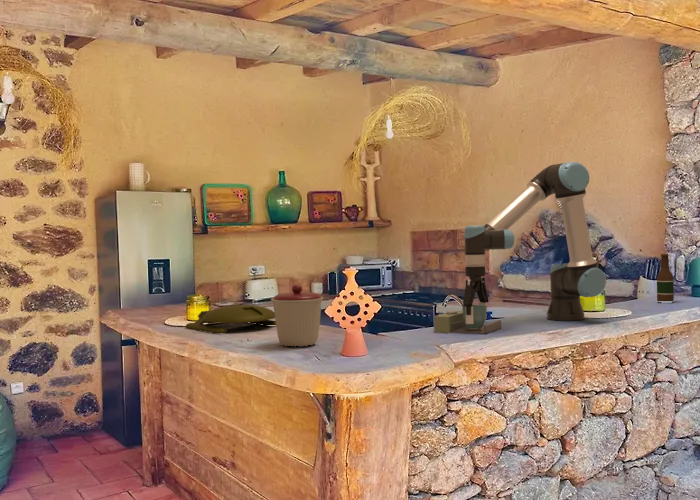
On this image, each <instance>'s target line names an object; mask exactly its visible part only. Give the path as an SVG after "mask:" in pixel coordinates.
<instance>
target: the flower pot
mask: <svg viewBox="0 0 700 500" xmlns="http://www.w3.org/2000/svg"><path fill="white" fill-rule="evenodd" d="M461 305H462V306H461V307H462V308H461V309H462V311H463V319H464V322H465V325H466V327H467V328H478V329H480V328H482V326H484V325H485V324H484V323H485V321H486V320H485V318H486V319H487V310H488V309H487V308H488V305H487V304H486V305H479V304H472V306H473V321H474V324H466V306H463V304H461Z"/></svg>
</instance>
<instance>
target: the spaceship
mask: <svg viewBox="0 0 700 500" xmlns="http://www.w3.org/2000/svg"><path fill="white" fill-rule="evenodd" d="M197 318H198V319H197V320H195V322H189V323H186V325H185V328H186V329H188V328H189V330H194V329H195V331H199V330H201V331H200V332H204V331H206V332H205V333H210V332H212V333H211V334H215V333H225V334H227V333H228V331H229V330H228V329H227V328H225V327H219V326H214V325H212V324H228V323H229V324H238V323H239V324H240V323H241V324H242V323H244V322H250V323H256V324H255V325H257V324H263V325H276V320H274V319H275V313H274V311H273V310H272V309H270V308H267V307H264V306H259V305H253V304H251V305H250V304H238V305H237V304H234V305H233V304H232V305H226V306H221V307H216V308H215V309H212V310H204V311H202V310H201V312H200V313H199V314H198V315H197ZM250 323H249V324H250ZM207 324H208V325H207ZM210 324H211V325H210ZM263 325H262V326H263ZM226 332H227V333H226Z"/></svg>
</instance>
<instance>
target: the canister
mask: <svg viewBox="0 0 700 500" xmlns="http://www.w3.org/2000/svg"><path fill="white" fill-rule="evenodd" d="M302 290H303V286H302V285H300V284H294V285H293V286H292V287H291V291H292V292H285V293H284V292H283V293H279V294H276V295H275V296H273V297H272V298H271V299H270V300H271V301H272V305H273V310H274V311H273V312H274V313H275V318H274V319H275V320H274V321H276V327H275V328H276V332H277V338H278V342H279V343H280V344H281V345H282V346H283V345H284V347H287V346H295V347H294V348H297V347H296V346H306V347H309V346H308V345H311V346H313V344H314V345H315V344H316V343H317V342H318V339H319V334H320V333H319V331H320V324H321V312H322V301H323V300H324V296H321V295H320V294H318V293H315V292H305V291H302Z"/></svg>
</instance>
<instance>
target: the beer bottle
mask: <svg viewBox="0 0 700 500" xmlns="http://www.w3.org/2000/svg"><path fill="white" fill-rule="evenodd" d="M660 257H661V258H660V271H659V272H658V273H657V277H656V301H673V300H674V297H675V296H674V287H675V286H674V283H675V282H674V275H673V272H671V270H670V264H669V263H670V262H669V260H670V259H669V257H670V255H669V254H668V253H661V254H660Z"/></svg>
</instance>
